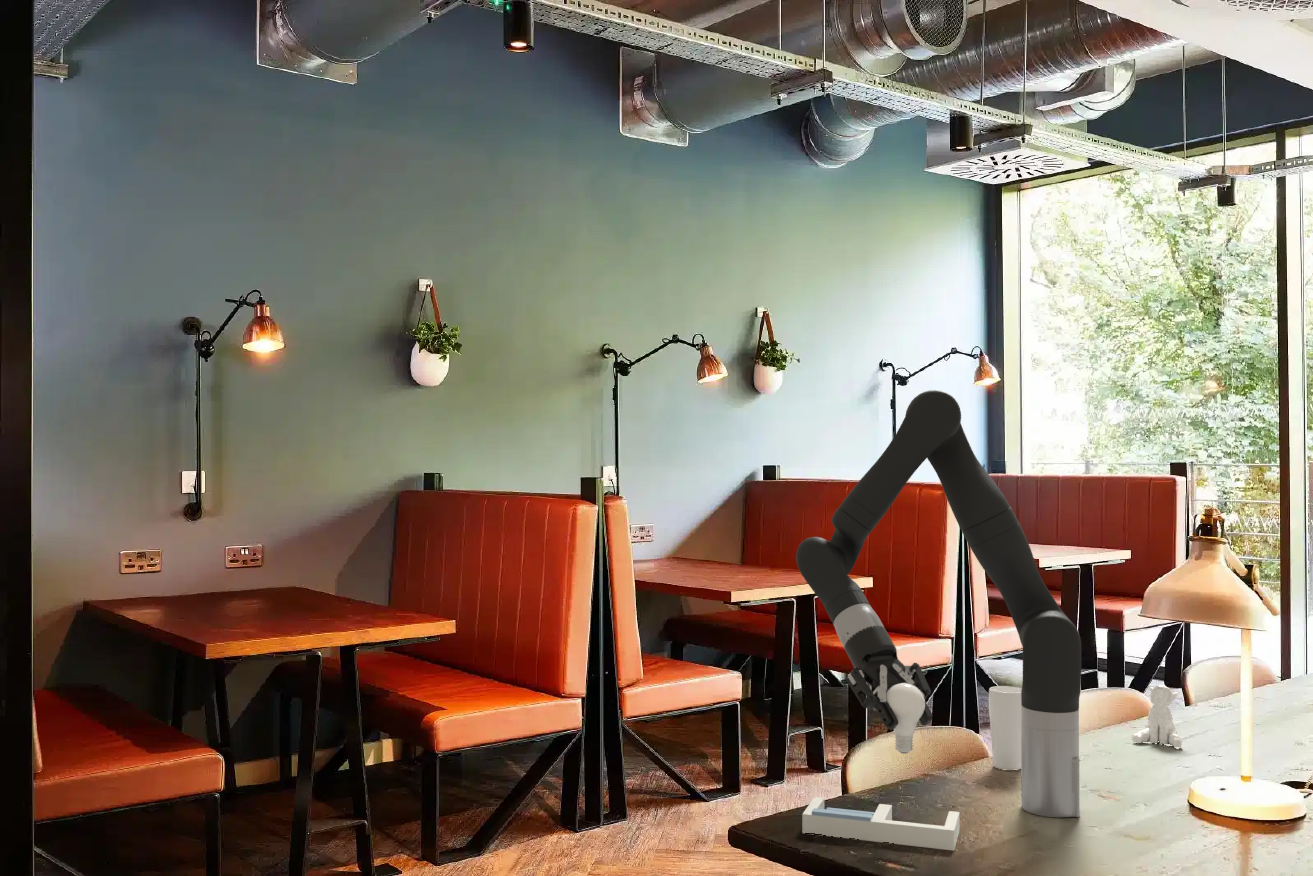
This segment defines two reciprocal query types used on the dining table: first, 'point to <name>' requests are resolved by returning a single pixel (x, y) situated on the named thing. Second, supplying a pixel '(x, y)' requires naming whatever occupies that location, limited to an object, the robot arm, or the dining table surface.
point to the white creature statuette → (1160, 719)
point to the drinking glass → (1005, 726)
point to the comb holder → (879, 826)
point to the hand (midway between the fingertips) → (911, 724)
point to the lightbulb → (905, 713)
